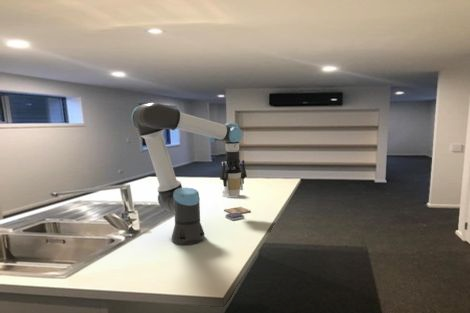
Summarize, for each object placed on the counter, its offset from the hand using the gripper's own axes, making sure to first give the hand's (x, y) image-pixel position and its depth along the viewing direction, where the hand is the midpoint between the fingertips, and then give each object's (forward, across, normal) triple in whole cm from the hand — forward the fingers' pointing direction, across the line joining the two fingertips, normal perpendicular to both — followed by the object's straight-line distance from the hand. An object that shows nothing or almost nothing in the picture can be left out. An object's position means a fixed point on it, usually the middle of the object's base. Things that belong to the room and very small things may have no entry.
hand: (234, 190), depth 180 cm
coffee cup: (+3, 0, 0) cm, 3 cm away
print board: (+15, +8, +11) cm, 21 cm away
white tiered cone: (+16, +26, +53) cm, 61 cm away
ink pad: (+15, 0, 0) cm, 15 cm away
